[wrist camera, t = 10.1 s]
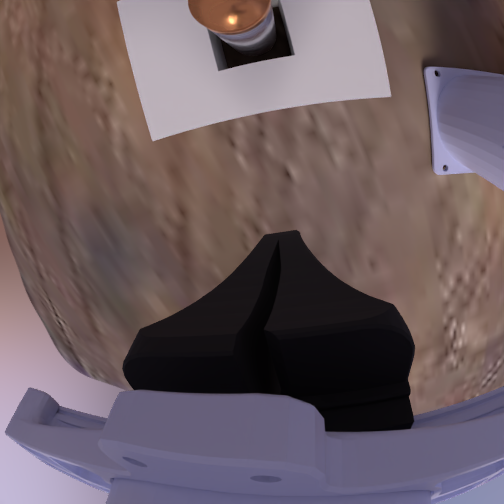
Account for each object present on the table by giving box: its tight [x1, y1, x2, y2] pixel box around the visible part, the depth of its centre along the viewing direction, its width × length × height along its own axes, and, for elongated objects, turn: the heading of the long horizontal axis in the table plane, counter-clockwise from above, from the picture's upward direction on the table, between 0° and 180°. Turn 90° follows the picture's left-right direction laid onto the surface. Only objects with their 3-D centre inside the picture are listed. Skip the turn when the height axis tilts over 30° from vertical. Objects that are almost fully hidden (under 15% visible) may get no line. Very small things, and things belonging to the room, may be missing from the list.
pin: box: [188, 0, 276, 56], centre depth 11 cm, size 3×3×9 cm
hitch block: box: [117, 0, 391, 141], centre depth 14 cm, size 14×10×4 cm
